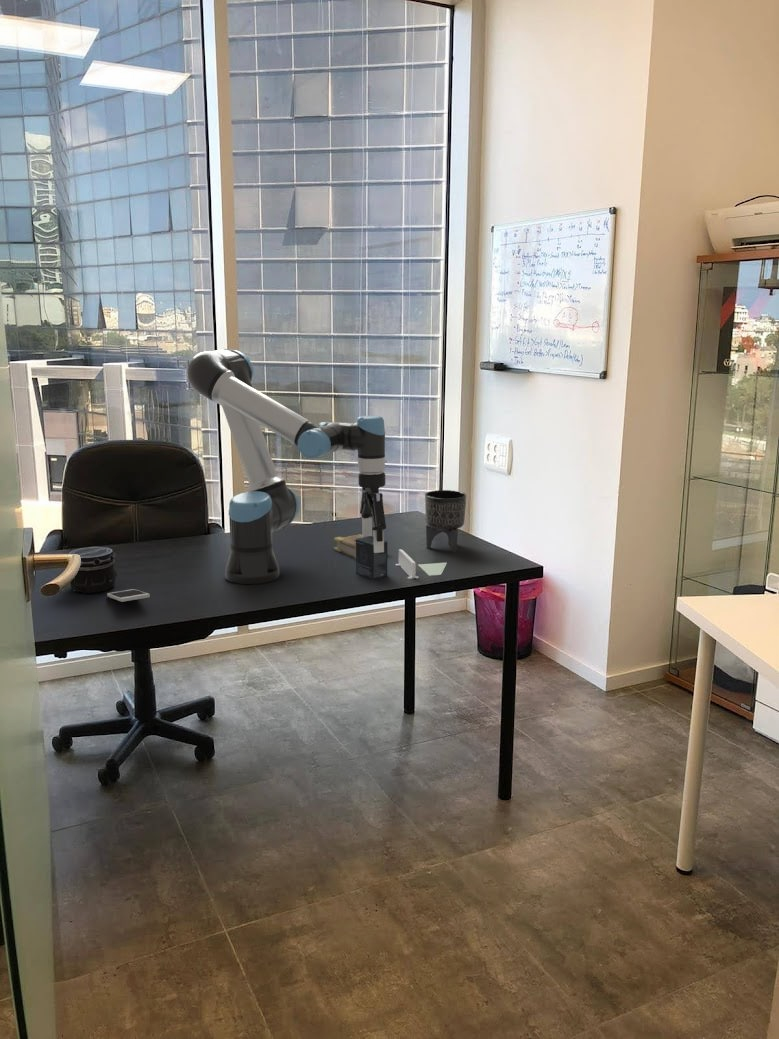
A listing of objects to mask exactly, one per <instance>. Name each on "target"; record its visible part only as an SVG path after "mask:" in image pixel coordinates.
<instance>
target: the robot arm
mask: <svg viewBox="0 0 779 1039" xmlns="http://www.w3.org/2000/svg"><path fill="white" fill-rule="evenodd" d="M253 377H254V367H253V364H252V362H251V360H250V359H249V357H248V356H247V355H246V354H244V353H243V352H242V351H239V350H236V349H229V348H224V349H219V350H207V351H203V352H202V351H201V352H199V353H197V354H196V355H194V356H193V357H192V359H191V360H190V361H189V364H188V367H187V378H188V382H189V383H190V384H191V386H192V387H193V389H194V390H195V391H196V392H197V393H199V394H200V395H202V396H203V397H205V398H206V399H208V400H210V401H212V402H213V403H216V404H218V405H220V406H221V408H222V411H223V413H224V416H225V419H226V422H227V424H228V427H229V429H230V434H231V437H232V439H233V442H234V445H235V447H236V449H237V453H238V457H239V458H240V462H241V464H242V467H243V470H244V473H245V476H246V479H247V481H248V486H247V489H246V491H245V492H241V493H238V494H236V495H233V496H232V497H231V499H230V501H229V509H228V520H229V538H230V540H229V541H230V543H229V544H230V551H229V552H230V553H229V556H228V559H227V563H226V566H225V568H224V569H225V570H224V572H225V575H224V576H225V580H227V581H228V582H230V583H234V584H238V585H240V584H241V585H257V584H265V583H269V582H272V581H276V580H278V578H279V577H280V566H279V563H278V561H277V559H276V556H275V552H274V550H273V549H274V548H273V533H275V532H277V531H278V530H280V529H283V528H286V527H288V526H289V525H290V524H291V523H292V522H294V521H295V520H296V518H297V516H298V515H299V511H300V500H299V497H298V495H297V494H296V492H295V491H294V490H293V489H291V488H290V487H288V486H287V483H286V481H285V479H284V478H283V477H282V476H279V475H278V473H277V470H276V467H275V465H274V462H273V458H272V456H271V455H272V454H271V453H270V449H269V447H268V444H267V442H266V439H265V436H264V432H263V429H262V427H264V428H265V429H267V430H269V431H271V432H273V433H274V434H276V435H277V436H279V437H281V438H283V439H285V440H286V441H287V442H290V443H291V444H293V445H295V446H296V447H297V448H298V450H299V452H300V454H301V455H302V456H304V457H305V458H307V459H310V460H311V459H312V460H313V459H319V458H323V457H325V456H326V455H329V454H332V453H335V452H338V451H345V450H346V451H357V470H358V472H359V473H358V474H357V475H358V480H357V481H358V486H359V487H361V498H360V499H361V500H360V509H359V514H360V515H361V525H362V526H361V528H362V532H361V533H362V534H361V535H362V538H363V537H368V536H372V537H374V553H380V552H384V540H385V533H384V530H386V528H387V525H386V517H385V516H386V515H385V509H384V501H383V500H384V499H383V496H384V495H383V493H382V492H380V491H379V489H380V488H384V487H385V486H386V473H385V471H386V463H388V460H387V459H386V428H385V420H384V418H383V416H380V415H361V416H358V417H357V419H356V422H336V421H335V422H334V421H323V422H319V423H318V424H316V423H314V422H312V421H311V420H309V419H307V418H306V417H303V416H302V415H301V414H299V413H297V412H295V411H294V410H291V409H290V408H289V407H287V406H285V405H283V404H282V403H279V402H278V401H276V400H275V399H273V398H271V397H269V396H268V395H266V394H265V393H263V392H261V391H259V390H257V389H255V388H254V387H253V384H252V380H253ZM261 426H262V427H261Z"/></svg>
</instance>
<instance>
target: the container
mask: <svg viewBox="0 0 779 1039" xmlns="http://www.w3.org/2000/svg"><path fill="white" fill-rule="evenodd" d="M68 554H78V555H80V556H81V566H80V568H79V571H78V573H77V575H76V576H75V578H74V579H73V580H72V581H71V583H69V584H70V587H71V590H72V589H73V590H75V591H78V592H77V593H79V592H83V593H82V594H90V593H99V592H104V591H108V590H110V589H112V588H114V587H115V585H116V584H115V583H116V578H117V576H118V574H117V571H116V568H115V562H116V561H115V558H116V553H115V552H114V551H113V549H112V548H110V547H104V546H89V547H88V546H87V547H82V548H81V547H80V548H77V549H73V550H71V551H69V553H68ZM73 590H72V591H73ZM75 591H74V592H75Z"/></svg>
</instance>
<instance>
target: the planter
mask: <svg viewBox="0 0 779 1039" xmlns="http://www.w3.org/2000/svg"><path fill="white" fill-rule="evenodd" d="M424 502H425V505H424V506H425V508H424V509H425V524H426V525H425V539H426V540H425V542H426V545H425V546H426V549H428V550H430V549H431V548H432V543H433V541H434V538H435V537H436V536H437V535H438V534H440V533H443V532H444V533H445V534H446V536H447V540H448V545H450V551H451V552H452V553H456V552H457V551H458V535H459V532H458V531H459V529H461V528H462V527H464V526H465V522H466V519H465V518H466V509H467V508H466V506H467V505H466V504H467V494H466V493H465V492H462V491H458V490H450V489H447V490H446V489H445V490H443V489H439V490H431V491H428V492H425V493H424Z"/></svg>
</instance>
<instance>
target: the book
mask: <svg viewBox="0 0 779 1039" xmlns="http://www.w3.org/2000/svg"><path fill="white" fill-rule="evenodd" d="M357 538H362V534H356V535H355V534H354V535H352V534H351V535H348V536H346V537H345V536H343V537H342V536H336V537H333V542H335V543H337V544H336V546H334V547H333V550H335V551H337V552H340V553H342V554H345V555H346V556H350V557H351V558H354V559H355V560H356V539H357Z"/></svg>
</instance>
